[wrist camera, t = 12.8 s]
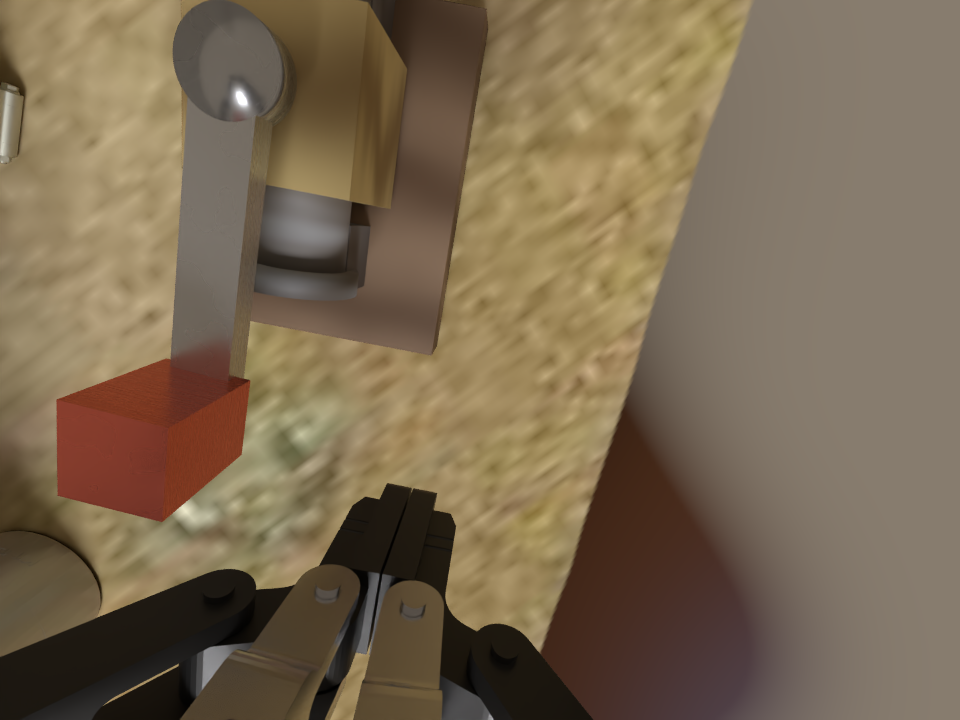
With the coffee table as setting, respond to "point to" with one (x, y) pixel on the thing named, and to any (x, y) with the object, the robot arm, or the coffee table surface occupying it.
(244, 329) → the valve lever
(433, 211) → the valve pipe
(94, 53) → the coffee table surface
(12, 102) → the pneumatic valve
